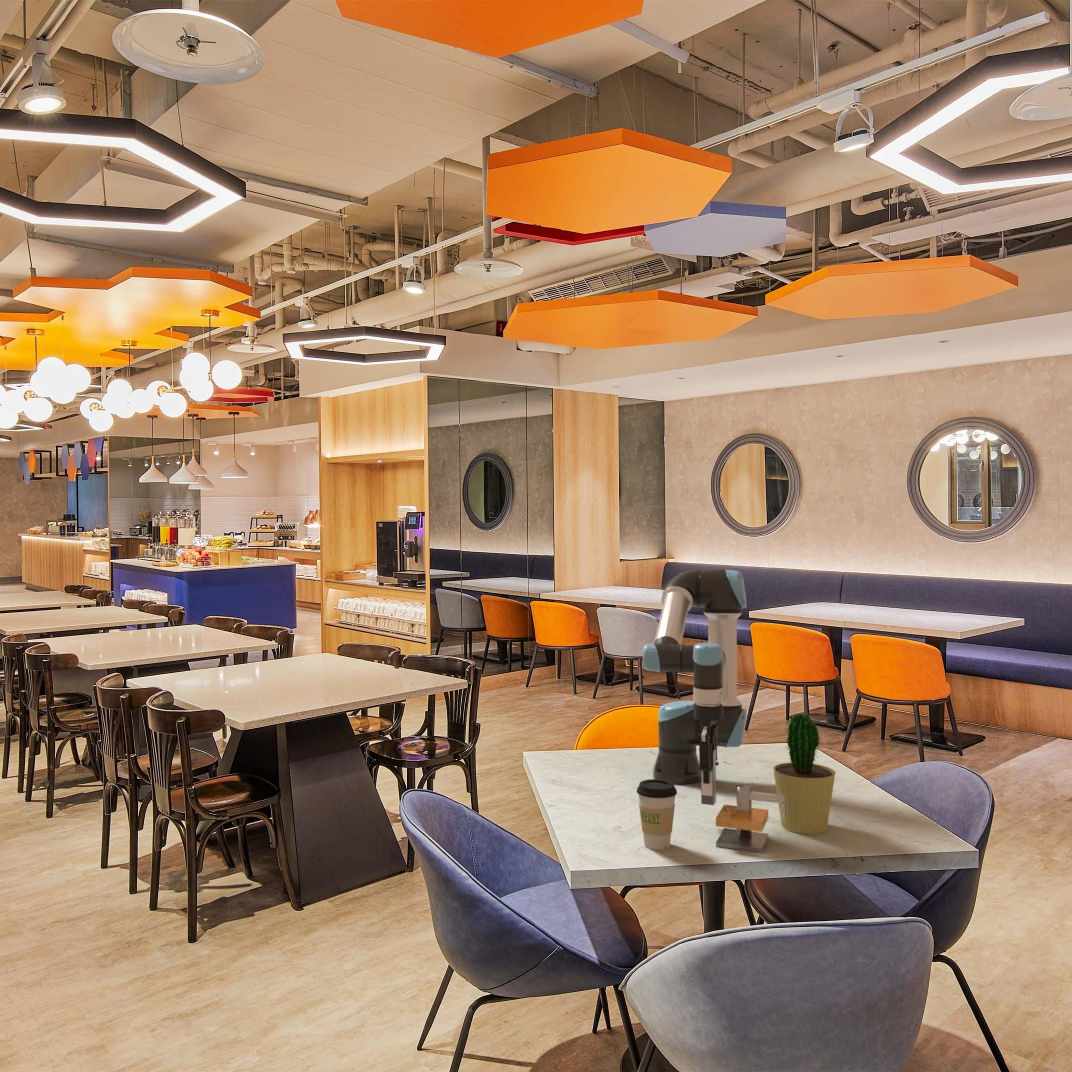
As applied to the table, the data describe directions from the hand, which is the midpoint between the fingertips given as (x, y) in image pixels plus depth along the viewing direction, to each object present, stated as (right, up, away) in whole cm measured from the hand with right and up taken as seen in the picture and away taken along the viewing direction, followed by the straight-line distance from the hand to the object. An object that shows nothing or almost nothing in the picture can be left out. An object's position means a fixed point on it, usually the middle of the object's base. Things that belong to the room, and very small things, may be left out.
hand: (708, 792), depth 225 cm
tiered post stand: (+8, -9, -13) cm, 17 cm away
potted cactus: (+25, -9, -1) cm, 26 cm away
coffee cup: (-15, -9, -14) cm, 22 cm away
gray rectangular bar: (0, -3, 0) cm, 3 cm away
